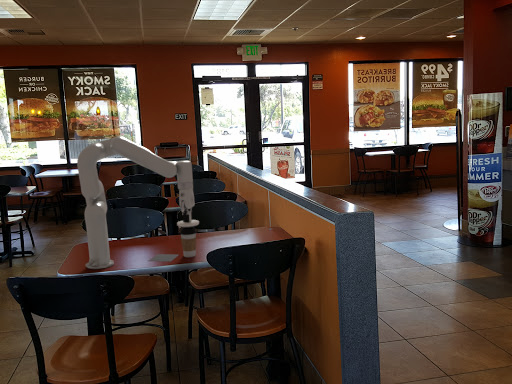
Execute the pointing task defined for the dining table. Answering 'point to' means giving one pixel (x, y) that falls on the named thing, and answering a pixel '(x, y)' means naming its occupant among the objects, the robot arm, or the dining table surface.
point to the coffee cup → (188, 241)
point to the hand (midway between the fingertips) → (187, 220)
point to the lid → (188, 224)
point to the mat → (164, 257)
